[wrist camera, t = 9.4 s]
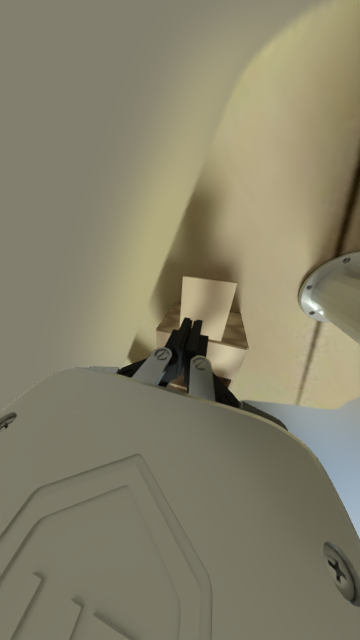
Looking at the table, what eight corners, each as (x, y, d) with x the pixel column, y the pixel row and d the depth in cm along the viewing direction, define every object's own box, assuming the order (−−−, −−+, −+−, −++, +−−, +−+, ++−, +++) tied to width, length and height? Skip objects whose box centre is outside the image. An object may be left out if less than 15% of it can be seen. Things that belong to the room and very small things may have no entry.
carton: (240, 313, 32) (248, 348, 22) (224, 360, 40) (225, 400, 30) (175, 302, 35) (156, 328, 25) (173, 348, 43) (159, 380, 33)
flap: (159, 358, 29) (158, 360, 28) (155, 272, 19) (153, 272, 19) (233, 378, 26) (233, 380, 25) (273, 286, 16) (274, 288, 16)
